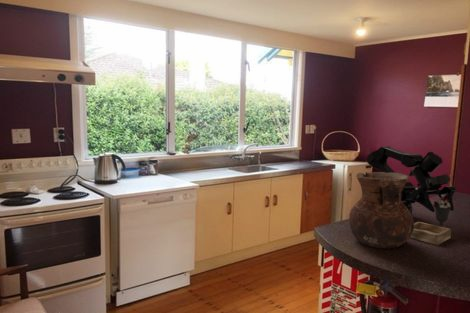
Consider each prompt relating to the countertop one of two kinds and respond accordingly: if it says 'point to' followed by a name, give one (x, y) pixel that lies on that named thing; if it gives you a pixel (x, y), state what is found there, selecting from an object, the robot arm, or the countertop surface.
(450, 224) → the countertop surface
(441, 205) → the sundae
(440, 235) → the cream square tray
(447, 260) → the countertop surface
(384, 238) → the jug
